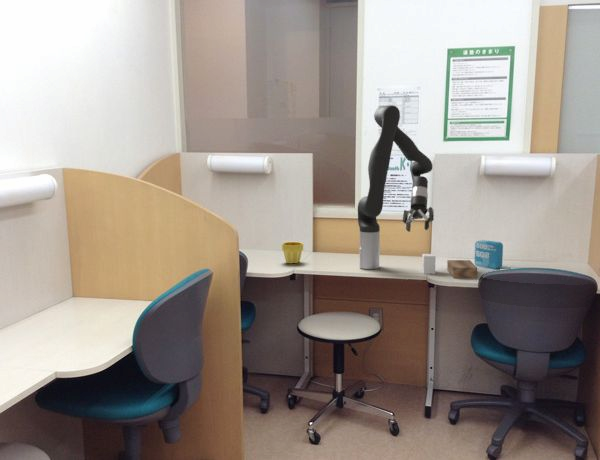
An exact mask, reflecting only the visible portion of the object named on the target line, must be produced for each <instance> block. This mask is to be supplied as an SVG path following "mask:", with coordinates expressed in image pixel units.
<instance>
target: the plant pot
mask: <svg viewBox="0 0 600 460" xmlns="http://www.w3.org/2000/svg"><path fill="white" fill-rule="evenodd" d="M281 249H282V251H283V255H284V260H285V263H286V262H287V263H298V262H299V263H300V262H301V258H302V251H304V243H303V242H300V241H285V242H282V243H281ZM287 263H286V264H287ZM299 263H298V264H299Z"/></svg>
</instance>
